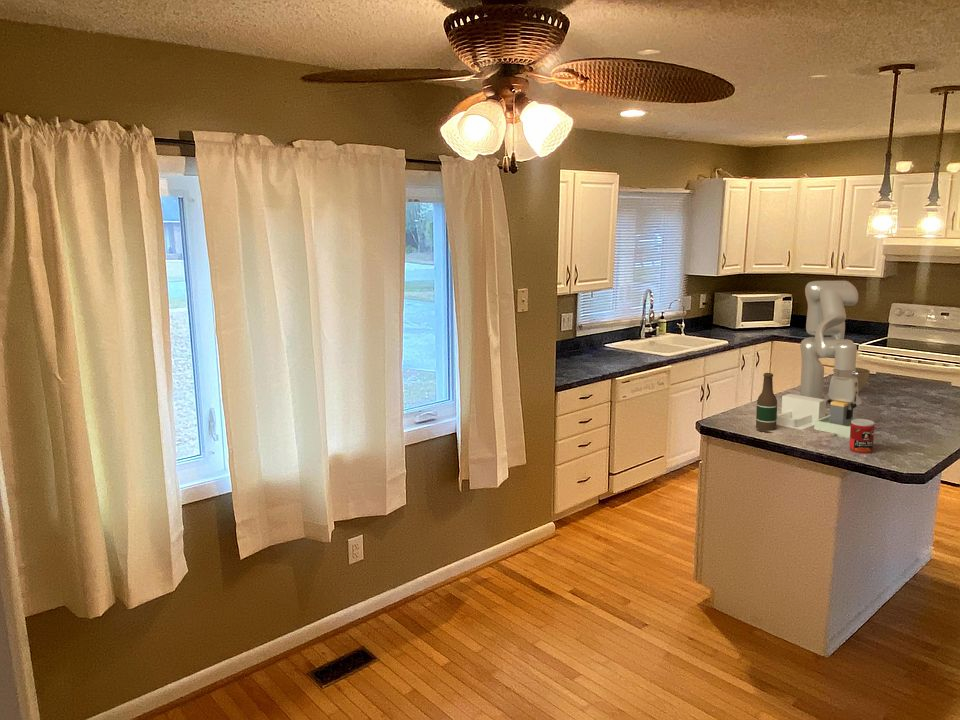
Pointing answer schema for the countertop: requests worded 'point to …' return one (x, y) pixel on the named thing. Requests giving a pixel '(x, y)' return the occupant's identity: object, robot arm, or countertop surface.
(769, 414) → the beer bottle
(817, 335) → the robot arm
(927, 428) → the countertop surface
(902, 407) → the countertop surface
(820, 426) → the tray
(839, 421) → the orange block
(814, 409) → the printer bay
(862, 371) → the planter bowl
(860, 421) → the canned food
